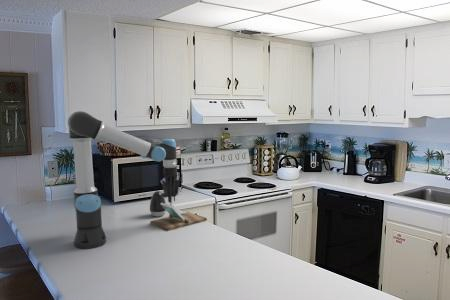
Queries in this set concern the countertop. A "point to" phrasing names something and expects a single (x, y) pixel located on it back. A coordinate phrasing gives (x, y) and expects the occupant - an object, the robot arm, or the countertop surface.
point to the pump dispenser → (157, 204)
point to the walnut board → (178, 221)
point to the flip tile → (172, 211)
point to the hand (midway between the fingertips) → (171, 207)
